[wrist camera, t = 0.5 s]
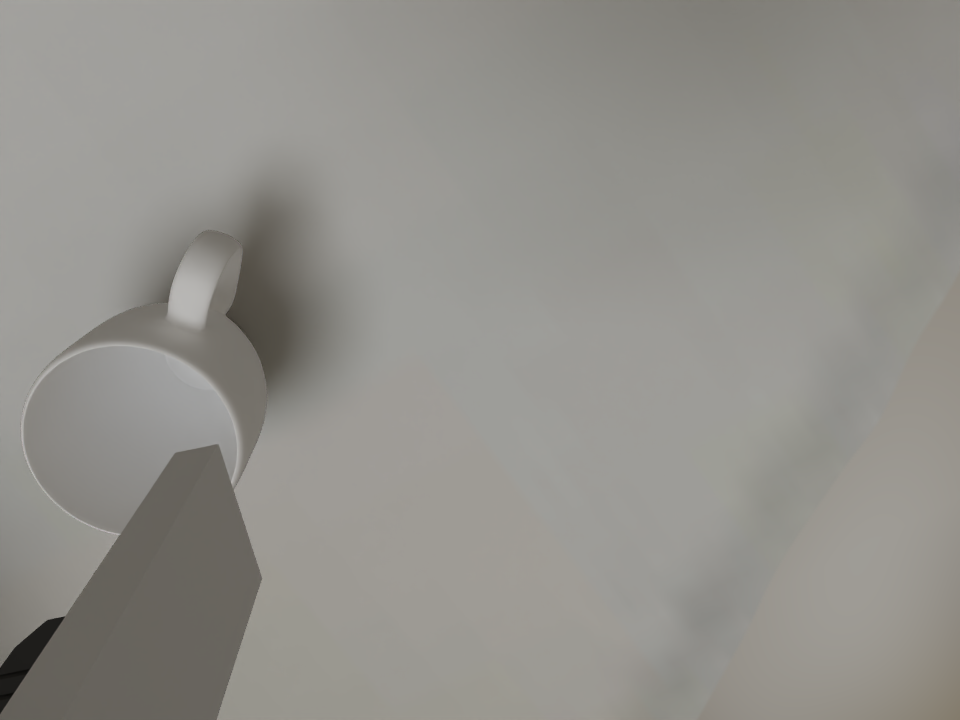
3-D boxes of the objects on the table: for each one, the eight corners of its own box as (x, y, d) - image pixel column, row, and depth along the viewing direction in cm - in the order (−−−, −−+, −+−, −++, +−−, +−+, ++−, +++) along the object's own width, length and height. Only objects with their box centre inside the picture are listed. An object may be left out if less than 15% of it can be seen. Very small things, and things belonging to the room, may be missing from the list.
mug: (258, 449, 44) (205, 568, 33) (102, 393, 42) (-9, 500, 31) (338, 241, 40) (308, 298, 30) (172, 173, 39) (76, 207, 28)
